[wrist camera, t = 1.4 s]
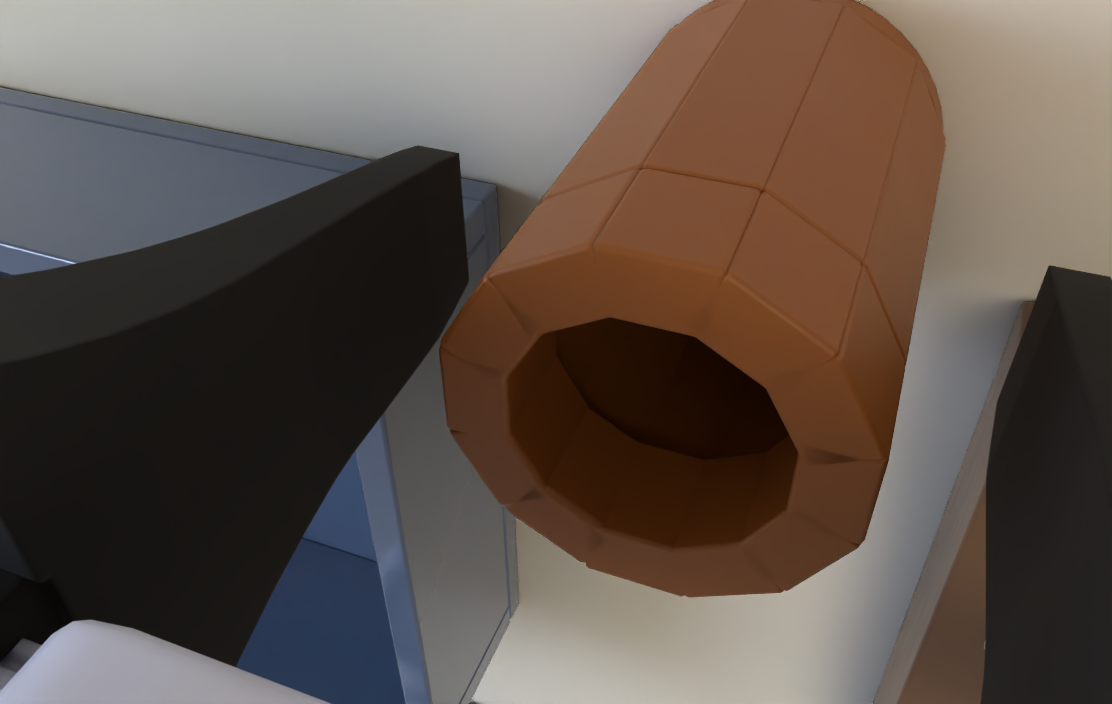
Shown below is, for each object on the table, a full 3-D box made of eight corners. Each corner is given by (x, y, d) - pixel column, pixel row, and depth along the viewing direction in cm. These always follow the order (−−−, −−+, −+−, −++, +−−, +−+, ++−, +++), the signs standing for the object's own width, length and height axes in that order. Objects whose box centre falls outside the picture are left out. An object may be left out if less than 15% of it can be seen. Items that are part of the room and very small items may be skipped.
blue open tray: (520, 602, 25) (440, 762, 22) (104, 467, 29) (-16, 587, 26) (497, 183, 18) (369, 336, 14) (-70, 72, 21) (-275, 173, 18)
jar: (904, 290, 16) (833, 645, 11) (631, 234, 17) (455, 528, 12) (981, 6, 13) (932, 315, 8) (643, -36, 14) (419, 208, 9)
